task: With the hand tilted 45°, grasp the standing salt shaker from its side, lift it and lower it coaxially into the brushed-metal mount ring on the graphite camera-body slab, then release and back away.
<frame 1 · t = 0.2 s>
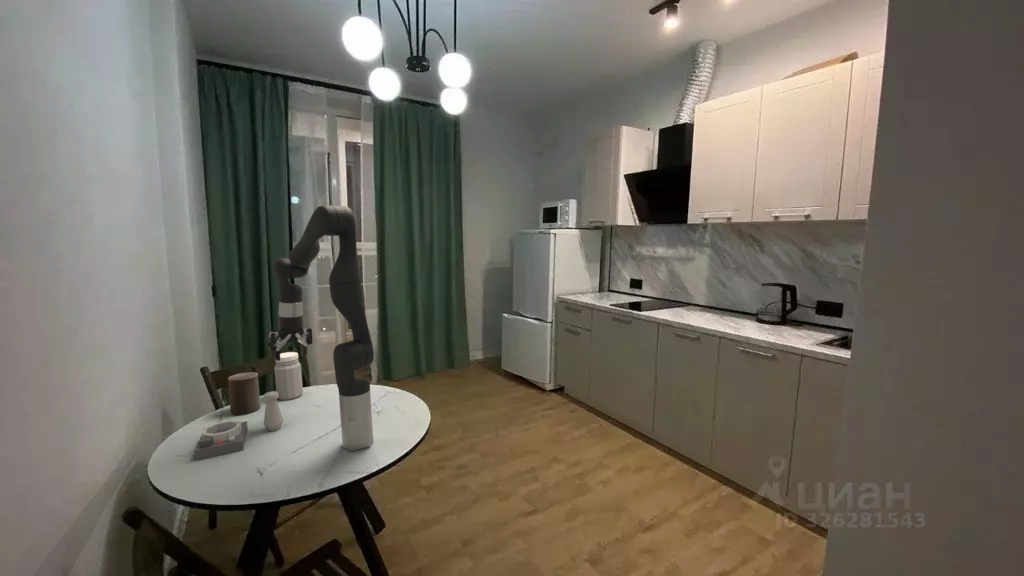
hand: (290, 358, 146), 23 cm above the table, tool pointing down, fingers open, 8 cm apart
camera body: (223, 443, 131), on the table
pillar candle: (246, 410, 157), on the table
salt shaker: (274, 429, 141), on the table
jar: (290, 396, 170), on the table
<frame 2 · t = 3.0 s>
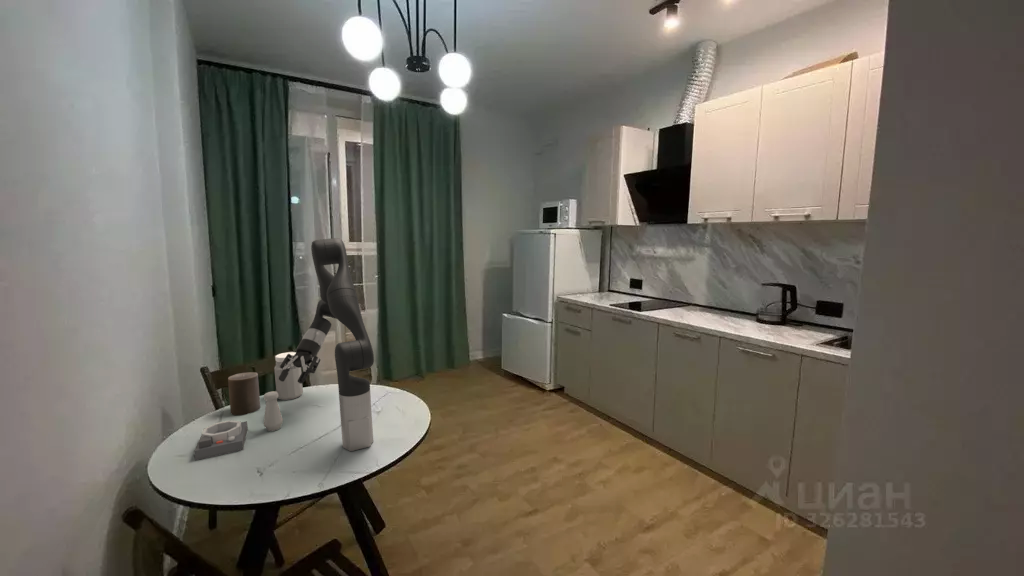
hand: (290, 381, 147), 14 cm above the table, tool tilted 45°, fingers open, 8 cm apart
nothing on the table moved.
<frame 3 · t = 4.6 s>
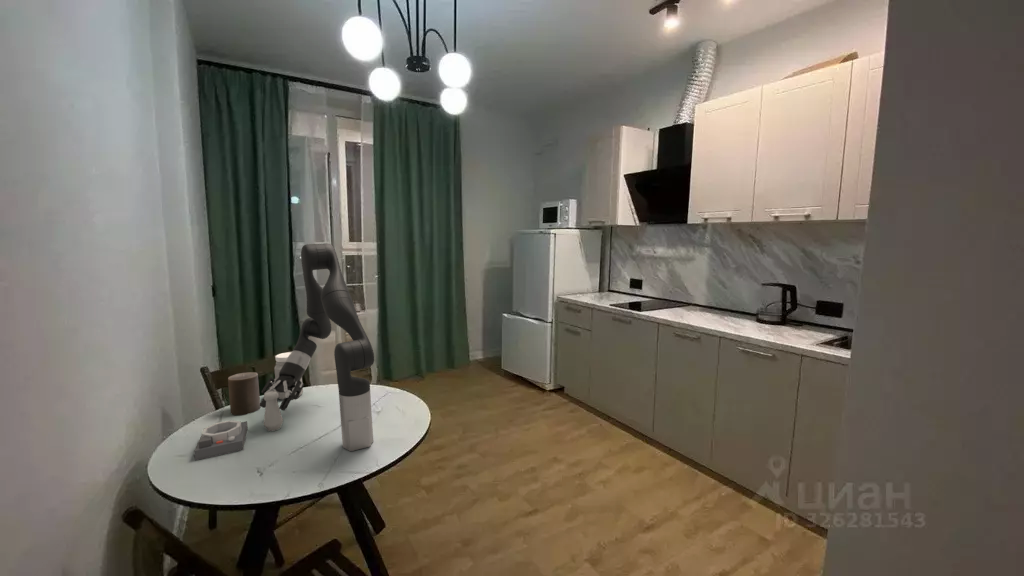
hand: (271, 408, 140), 7 cm above the table, tool tilted 45°, fingers open, 8 cm apart
nothing on the table moved.
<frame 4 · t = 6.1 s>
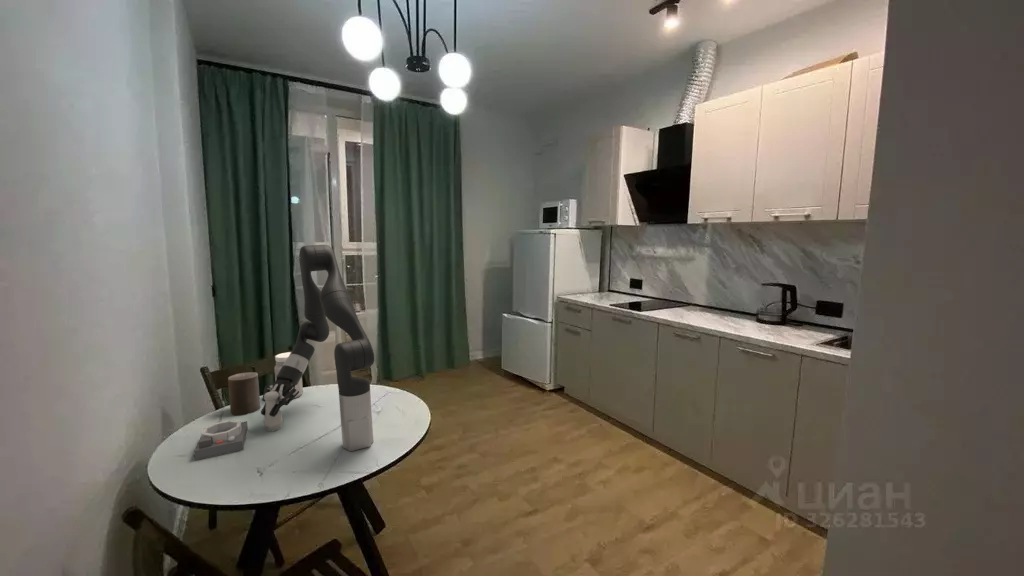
hand: (267, 415, 138), 6 cm above the table, tool tilted 45°, fingers closed on salt shaker, 3 cm apart
salt shaker: (274, 429, 141), on the table, touching gripper
everything else where it was.
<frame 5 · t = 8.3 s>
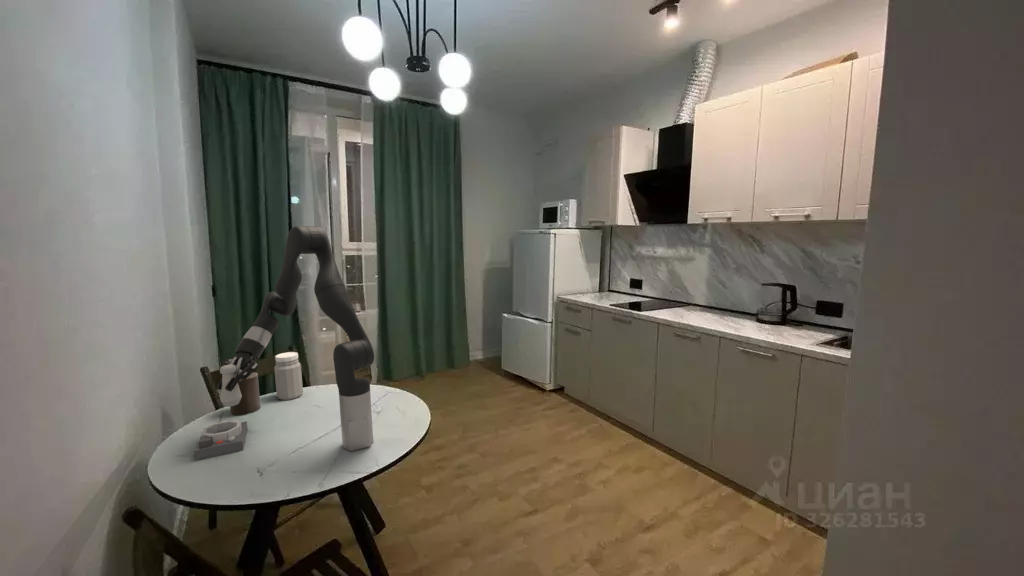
hand: (223, 389, 130), 18 cm above the table, tool tilted 45°, fingers closed on salt shaker, 3 cm apart
salt shaker: (231, 404, 132), point 12 cm above the table, touching gripper
everything else where it was.
when the fingers open (10 cm above the table, at t = 10.8 s): salt shaker stays where it is, resting on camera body.
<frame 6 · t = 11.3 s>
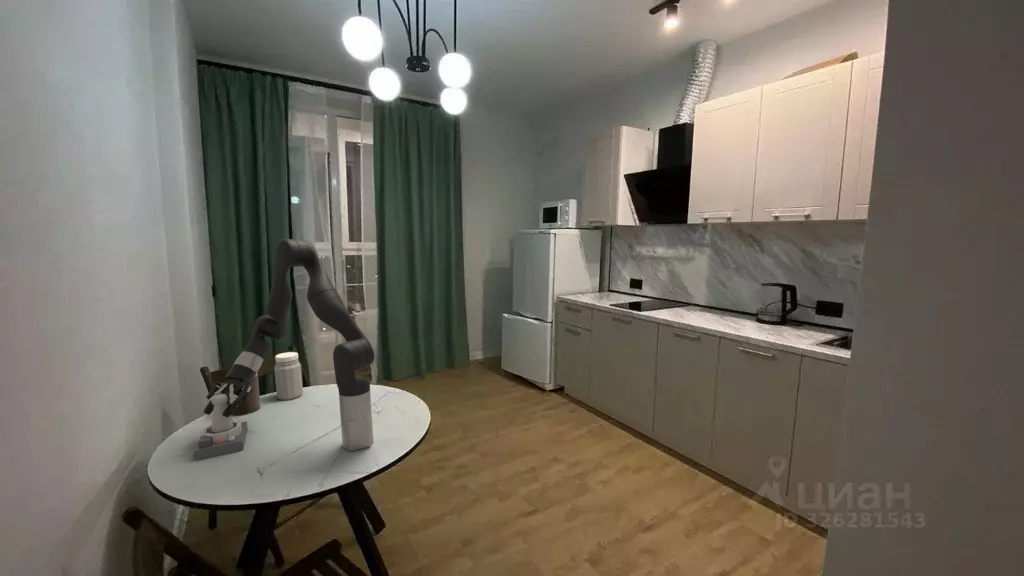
hand: (215, 415, 128), 10 cm above the table, tool tilted 45°, fingers open, 7 cm apart
salt shaker: (223, 435, 131), point 3 cm above the table, touching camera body
everything else where it was.
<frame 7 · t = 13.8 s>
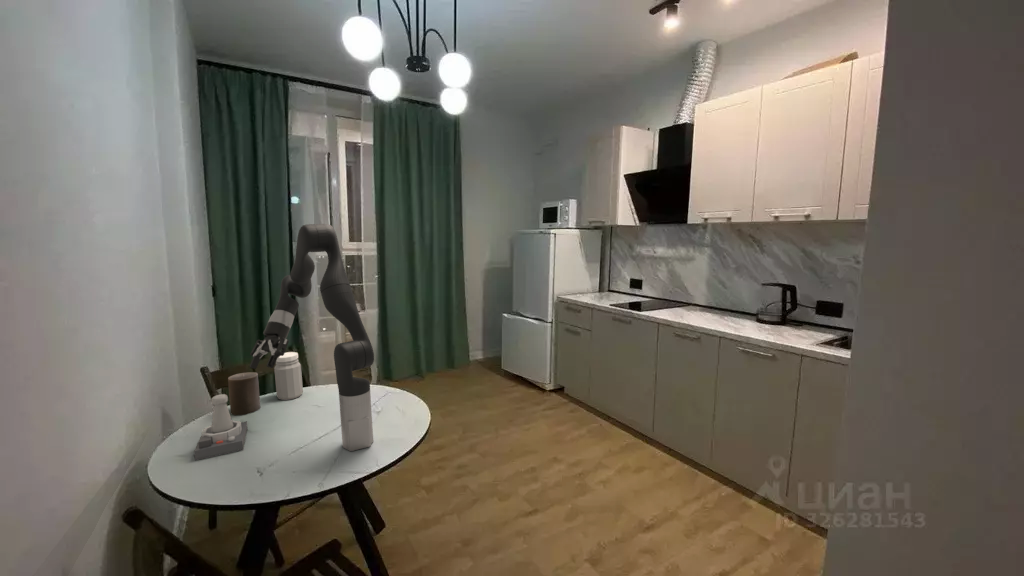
hand: (261, 367, 140), 21 cm above the table, tool tilted 40°, fingers open, 8 cm apart
nothing on the table moved.
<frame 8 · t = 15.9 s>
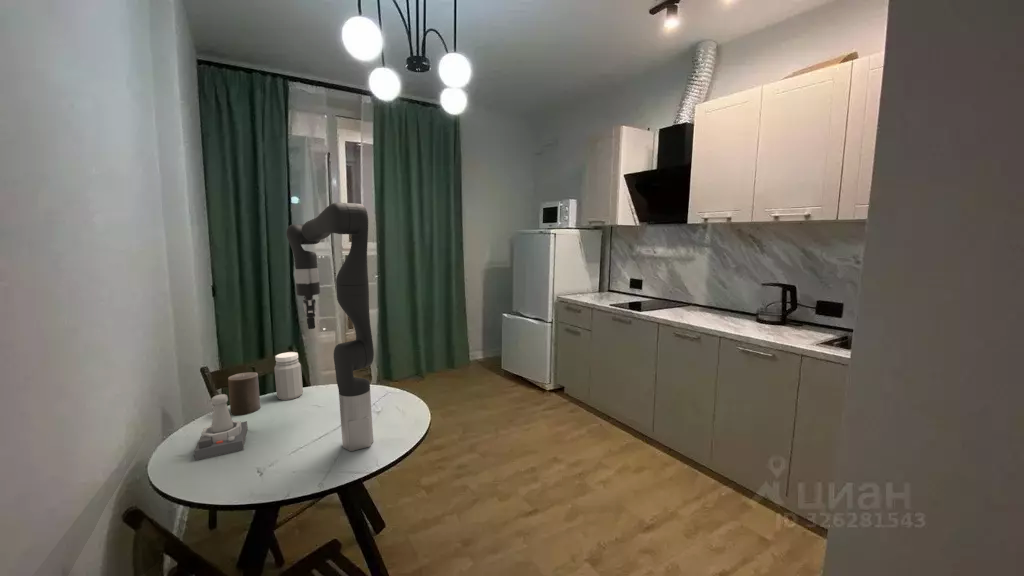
hand: (311, 326, 145), 34 cm above the table, tool pointing down, fingers open, 8 cm apart
nothing on the table moved.
at the end: salt shaker 0.2 cm off-centre on the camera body, point 2.8 cm above the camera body's base; salt shaker tilted 0°; the gripper is holding nothing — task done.
